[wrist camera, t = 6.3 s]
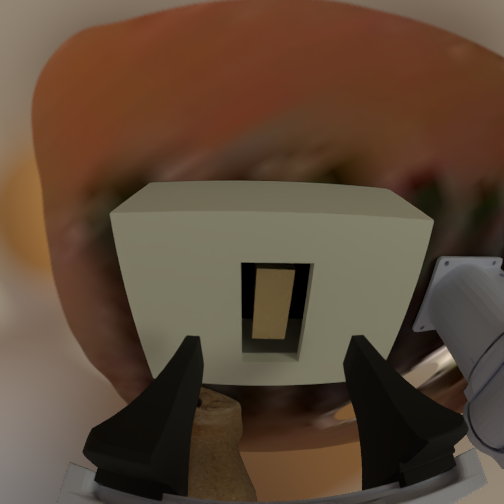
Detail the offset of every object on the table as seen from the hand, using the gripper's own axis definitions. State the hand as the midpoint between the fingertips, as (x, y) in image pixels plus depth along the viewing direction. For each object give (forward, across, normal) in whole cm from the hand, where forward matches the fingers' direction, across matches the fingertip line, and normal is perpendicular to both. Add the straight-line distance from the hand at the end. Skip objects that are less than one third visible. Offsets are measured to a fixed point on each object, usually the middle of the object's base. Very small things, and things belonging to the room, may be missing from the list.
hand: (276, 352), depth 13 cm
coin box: (+8, 0, 0) cm, 8 cm away
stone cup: (+9, +6, +21) cm, 24 cm away
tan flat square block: (+8, 0, 0) cm, 8 cm away
